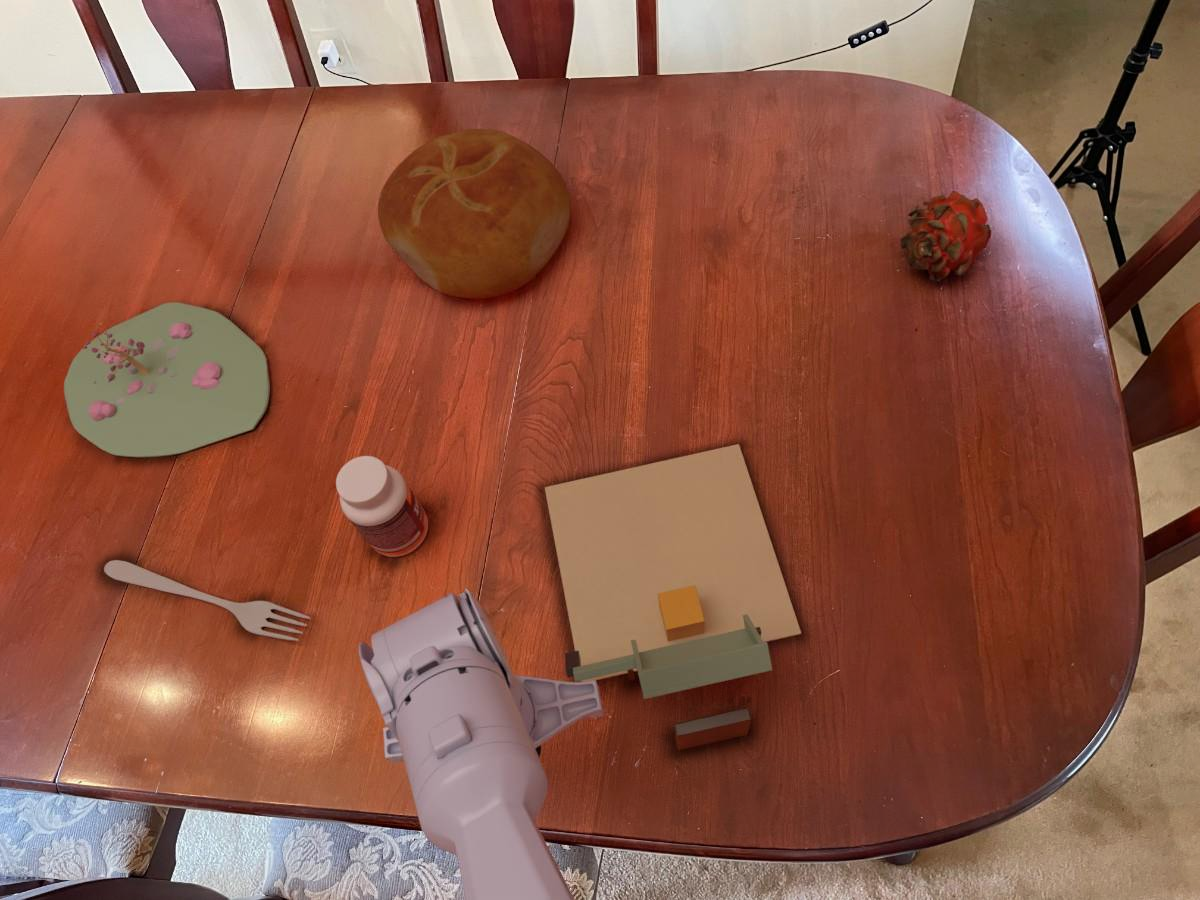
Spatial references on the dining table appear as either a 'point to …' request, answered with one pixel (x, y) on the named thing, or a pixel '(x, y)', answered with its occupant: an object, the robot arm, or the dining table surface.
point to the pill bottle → (381, 506)
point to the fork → (209, 599)
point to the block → (681, 613)
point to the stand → (710, 725)
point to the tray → (685, 662)
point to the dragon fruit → (946, 235)
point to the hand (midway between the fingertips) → (516, 745)
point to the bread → (475, 212)
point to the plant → (167, 383)
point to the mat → (665, 553)
